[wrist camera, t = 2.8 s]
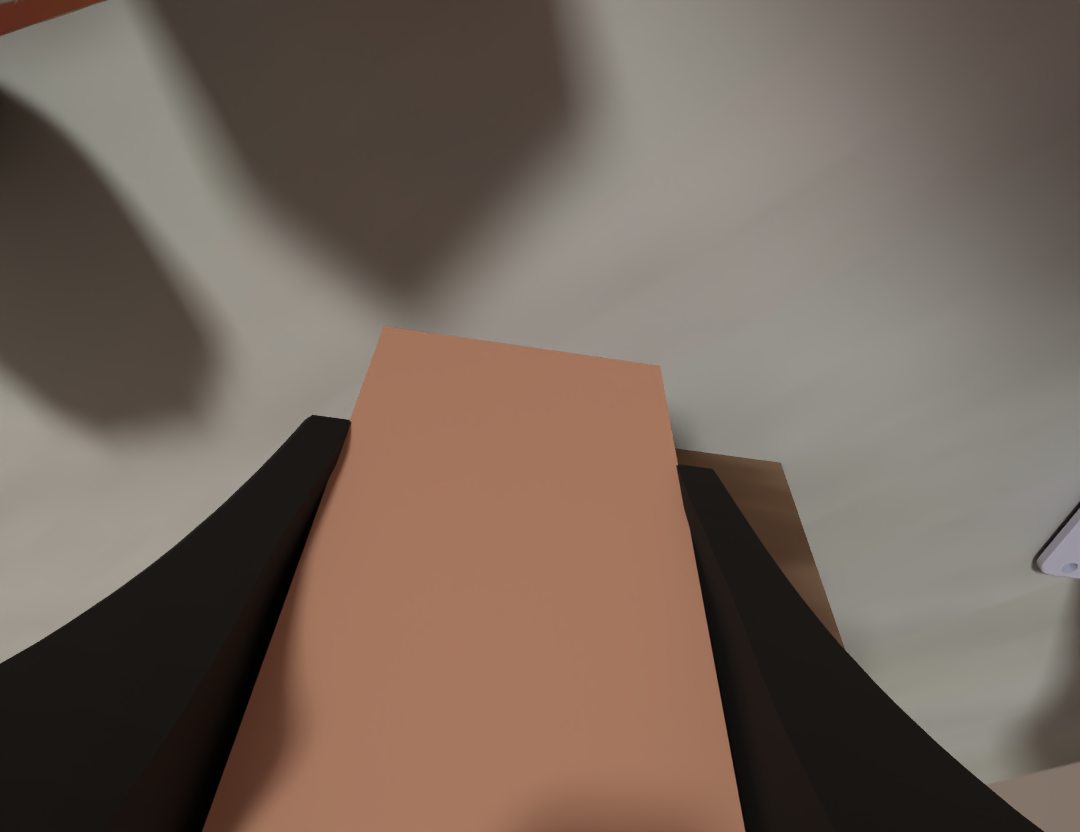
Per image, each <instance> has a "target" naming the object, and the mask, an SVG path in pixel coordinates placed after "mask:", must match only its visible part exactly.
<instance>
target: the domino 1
mask: <svg viewBox="0 0 1080 832" xmlns="http://www.w3.org/2000/svg"><path fill="white" fill-rule="evenodd" d="M350 422H351V425H350V427H349V430H348V433H347V436H346V439H345V441H344V444H343V447H342V450H341V453H340V455H339V458H338V461H337V464H336V466H335V468H334V470H333V472H332V474H331V476H330V478H329V480H328V483H327V485H326V488H325V491H324V494H323V497H322V499H321V502H320V505H319V508H318V510H317V513H316V516H315V519H314V522H313V524H312V527H311V530H310V533H309V535H308V538H307V541H306V544H305V547H304V549H303V552H302V555H301V558H300V560H299V563H298V566H297V569H296V572H295V574H294V577H293V580H292V583H291V586H290V588H289V591H288V594H287V597H286V599H285V602H284V605H283V608H282V611H281V613H280V616H279V619H278V622H277V624H276V627H275V630H274V633H273V636H272V638H271V641H270V644H269V647H268V650H267V652H266V655H265V658H264V661H263V663H262V666H261V669H260V672H259V675H258V677H257V680H256V683H255V686H254V688H253V691H252V694H251V697H250V700H249V702H248V705H247V708H246V711H245V713H244V716H243V719H242V722H241V725H240V727H239V730H238V733H237V736H236V739H235V741H234V744H233V747H232V750H231V752H230V755H229V758H228V761H227V764H226V766H225V769H224V772H223V775H222V777H221V780H220V783H219V786H218V789H217V791H216V794H215V797H214V800H213V802H212V805H211V808H210V811H209V814H208V816H207V819H206V822H205V825H204V828H203V830H202V832H745V828H744V822H743V817H742V811H741V806H740V800H739V795H738V789H737V784H736V779H735V773H734V768H733V762H732V757H731V751H730V746H729V740H728V735H727V729H726V724H725V719H724V713H723V708H722V702H721V697H720V691H719V686H718V680H717V675H716V669H715V664H714V658H713V653H712V648H711V642H710V637H709V631H708V626H707V620H706V615H705V609H704V604H703V598H702V593H701V588H700V582H699V577H698V571H697V566H696V560H695V555H694V549H693V544H692V538H691V533H690V527H689V524H688V521H687V517H686V514H685V511H684V506H683V500H682V495H681V489H680V484H679V478H678V473H677V467H676V465H678V462H677V457H676V451H675V446H674V440H673V435H672V429H671V424H670V418H669V413H668V407H667V402H666V397H665V391H664V386H663V380H662V375H661V369H660V366H656V365H649V364H642V363H635V362H629V361H622V360H615V359H608V358H601V357H594V356H587V355H580V354H573V353H566V352H559V351H552V350H545V349H538V348H531V347H524V346H517V345H510V344H504V343H497V342H490V341H483V340H476V339H469V338H462V337H455V336H448V335H441V334H434V333H427V332H420V331H413V330H406V329H399V328H392V327H386V326H384V327H383V330H382V332H381V335H380V338H379V341H378V344H377V346H376V349H375V352H374V355H373V357H372V360H371V363H370V366H369V369H368V371H367V374H366V377H365V380H364V382H363V385H362V388H361V391H360V394H359V396H358V399H357V402H356V405H355V407H354V410H353V413H352V416H351V419H350Z"/></svg>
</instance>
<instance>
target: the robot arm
mask: <svg viewBox="0 0 1080 832" xmlns="http://www.w3.org/2000/svg"><path fill="white" fill-rule="evenodd" d="M350 425H351V422H350V420H346V419H339V418H331V417H324V416H316V415H312V416H310V417H309V418H307V419H306V420H304V422H303V423H302V424H301V425H300V426H299V427H298V428H297V429H296V431H295V432H294V433H293V434H292V435H291V436H290V437H289V438H288V439H287V441H286V442H285V443H284V444H283V445H282V446H281V447H280V448H279V449H278V450H277V451H276V452H275V453H274V454H273V455H272V456H271V458H270V459H269V460H268V461H267V462H266V463H265V464H264V465H263V466H262V467H261V468H260V469H259V470H258V471H257V472H256V473H255V474H254V475H253V476H252V477H251V478H250V479H249V480H248V481H247V482H246V483H244V484H243V485H242V486H241V487H240V488H239V489H238V490H237V491H236V492H235V493H234V494H233V495H232V496H231V497H230V498H229V499H228V500H227V501H226V502H225V503H224V504H223V505H221V506H220V507H219V508H218V509H217V510H216V511H215V512H214V513H213V514H211V515H210V516H209V517H208V518H207V519H206V520H204V521H203V522H202V523H201V524H200V525H199V526H197V527H196V528H195V529H194V530H193V531H192V532H191V533H189V534H188V535H187V536H186V537H185V538H184V539H182V540H181V541H180V542H179V543H178V544H177V545H175V546H174V547H173V548H172V549H170V550H169V551H168V552H167V553H165V554H164V555H163V556H162V557H160V558H159V559H158V560H157V561H155V562H154V563H153V564H151V565H150V566H149V567H148V568H146V569H145V570H144V571H142V572H141V573H140V574H138V575H137V576H135V577H134V578H133V579H131V580H130V581H129V582H127V583H126V584H125V585H123V586H122V587H120V588H119V589H118V590H116V591H115V592H113V593H112V594H111V595H109V596H108V597H106V598H105V599H103V600H102V601H100V602H99V603H97V604H96V605H94V606H93V607H91V608H90V609H88V610H87V611H85V612H84V613H82V614H81V615H79V616H78V617H76V618H75V619H73V620H72V621H70V622H69V623H67V624H66V625H64V626H63V627H61V628H60V629H58V630H56V631H55V632H53V633H52V634H50V635H48V636H47V637H45V638H44V639H42V640H40V641H39V642H37V643H35V644H34V645H32V646H30V647H29V648H27V649H25V650H23V651H22V652H20V653H18V654H16V655H15V656H13V657H11V658H9V659H8V660H6V661H4V662H2V663H1V664H0V832H202V830H203V828H204V825H205V822H206V819H207V816H208V814H209V811H210V808H211V805H212V802H213V800H214V797H215V794H216V791H217V789H218V786H219V783H220V780H221V777H222V775H223V772H224V769H225V766H226V764H227V761H228V758H229V755H230V752H231V750H232V747H233V744H234V741H235V739H236V736H237V733H238V730H239V727H240V725H241V722H242V719H243V716H244V713H245V711H246V708H247V705H248V702H249V700H250V697H251V694H252V691H253V688H254V686H255V683H256V680H257V677H258V675H259V672H260V669H261V666H262V663H263V661H264V658H265V655H266V652H267V650H268V647H269V644H270V641H271V638H272V636H273V633H274V630H275V627H276V624H277V622H278V619H279V616H280V613H281V611H282V608H283V605H284V602H285V599H286V597H287V594H288V591H289V588H290V586H291V583H292V580H293V577H294V574H295V572H296V569H297V566H298V563H299V560H300V558H301V555H302V552H303V549H304V547H305V544H306V541H307V538H308V535H309V533H310V530H311V527H312V524H313V522H314V519H315V516H316V513H317V510H318V508H319V505H320V502H321V499H322V497H323V494H324V491H325V488H326V485H327V483H328V480H329V478H330V476H331V474H332V472H333V470H334V468H335V466H336V464H337V461H338V458H339V455H340V453H341V450H342V447H343V444H344V441H345V439H346V436H347V433H348V430H349V427H350ZM676 467H677V473H678V478H679V484H680V489H681V495H682V500H683V506H684V511H685V514H686V517H687V521H688V524H689V527H690V533H691V538H692V544H693V549H694V555H695V560H696V566H697V571H698V577H699V582H700V588H701V593H702V598H703V604H704V609H705V615H706V620H707V626H708V631H709V637H710V642H711V648H712V653H713V658H714V664H715V669H716V675H717V680H718V686H719V691H720V697H721V702H722V708H723V713H724V719H725V724H726V729H727V735H728V740H729V746H730V751H731V757H732V762H733V768H734V773H735V779H736V784H737V789H738V795H739V800H740V806H741V811H742V817H743V822H744V828H745V832H1044V831H1042V830H1041V829H1040V828H1038V827H1037V826H1036V825H1035V824H1033V823H1032V822H1031V821H1029V820H1028V819H1027V818H1025V817H1024V816H1023V815H1021V814H1020V813H1019V812H1018V811H1016V810H1015V809H1014V808H1013V807H1011V806H1010V805H1009V804H1008V803H1007V802H1005V801H1004V800H1003V799H1002V798H1001V797H999V796H998V795H997V794H996V793H995V792H993V791H992V790H991V789H990V788H989V787H987V786H986V785H985V784H984V783H983V782H981V781H980V780H979V779H978V778H977V777H975V776H974V775H973V774H972V773H971V772H969V771H968V770H967V769H966V768H965V767H964V766H963V765H961V764H960V763H959V762H958V761H957V760H956V759H955V758H953V757H952V756H951V755H950V754H949V753H948V752H947V751H946V750H944V749H943V748H942V747H941V746H940V745H939V744H938V743H937V742H936V741H934V740H933V739H932V738H931V737H930V736H929V735H928V734H927V733H926V732H925V731H924V730H923V729H922V728H921V727H920V726H919V725H918V724H917V723H916V722H914V721H913V720H912V719H911V718H910V717H909V716H908V715H907V714H906V713H905V712H904V711H903V710H902V709H901V708H900V707H899V706H898V705H897V704H896V703H895V702H894V701H893V700H892V699H891V698H890V697H889V696H888V695H887V694H886V693H885V692H884V691H883V690H882V689H881V688H880V687H879V686H878V685H877V684H876V683H875V682H874V681H873V680H872V679H871V678H870V677H869V676H868V674H867V673H866V672H865V671H864V670H863V669H862V668H861V667H860V666H859V665H858V664H857V662H856V661H855V660H854V659H853V658H852V657H851V656H850V655H849V654H848V653H847V652H846V651H845V649H844V648H843V647H842V646H841V645H840V644H839V643H838V641H837V640H836V639H835V638H834V637H833V636H832V634H831V633H830V632H829V631H828V630H827V629H826V627H825V626H824V625H823V624H822V622H821V621H820V620H819V619H818V617H817V616H816V615H815V614H814V612H813V611H812V610H811V609H810V607H809V606H808V605H807V604H806V602H805V601H804V600H803V599H802V597H801V596H800V595H799V594H798V592H797V591H796V590H795V588H794V587H793V586H792V584H791V583H790V582H789V580H788V579H787V577H786V576H785V575H784V573H783V572H782V570H781V569H780V568H779V566H778V565H777V563H776V562H775V561H774V559H773V558H772V556H771V555H770V554H769V552H768V551H767V549H766V548H765V546H764V545H763V543H762V542H761V541H760V539H759V538H758V536H757V535H756V533H755V532H754V530H753V529H752V527H751V526H750V524H749V523H748V521H747V520H746V518H745V517H744V515H743V514H742V512H741V511H740V509H739V507H738V506H737V504H736V503H735V501H734V500H733V498H732V497H731V495H730V494H729V492H728V491H727V489H726V488H725V486H724V484H723V483H722V481H721V480H720V478H719V477H718V476H717V474H716V473H715V471H714V470H713V469H711V468H703V467H696V466H688V465H681V464H678V465H676ZM1037 565H1038V566H1039V568H1040V569H1041V571H1042V572H1043V573H1045V574H1048V575H1056V576H1064V577H1072V578H1080V508H1079V509H1078V511H1077V512H1076V513H1075V514H1074V515H1073V517H1072V518H1071V519H1070V520H1069V521H1068V523H1067V524H1066V525H1065V526H1064V527H1063V529H1062V530H1061V531H1060V532H1059V533H1058V535H1057V536H1056V537H1055V538H1054V540H1053V541H1052V542H1051V543H1050V544H1049V546H1048V547H1047V548H1046V549H1045V550H1044V552H1043V553H1042V554H1041V555H1040V556H1039V558H1038V560H1037Z"/></svg>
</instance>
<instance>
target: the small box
mask: <svg viewBox="0 0 1080 832" xmlns="http://www.w3.org/2000/svg"><path fill="white" fill-rule="evenodd" d="M103 1H106V0H0V36H2V35H5V34H8V33H11V32H14V31H16V30H19V29H22V28H25V27H28V26H30V25H33V24H37V23H40V22H43V21H47V20H50V19H53V18H56V17H59V16H62V15H65V14H68V13H71V12H74V11H77V10H80V9H82V8H85V7H88V6H90V5H93V4H97V3H100V2H103Z"/></svg>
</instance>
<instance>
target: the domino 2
mask: <svg viewBox="0 0 1080 832" xmlns="http://www.w3.org/2000/svg"><path fill="white" fill-rule="evenodd" d="M675 451H676V457H677V462H678V464H681V465H688V466H696V467H703V468H711V469H713V470H714V471H715V473H716V474H717V476H718V477H719V478H720V480H721V481H722V483H723V484H724V486H725V488H726V489H727V491H728V492H729V494H730V495H731V497H732V498H733V500H734V501H735V503H736V504H737V506H738V507H739V509H740V511H741V512H742V514H743V515H744V517H745V518H746V520H747V521H748V523H749V524H750V526H751V527H752V529H753V530H754V532H755V533H756V535H757V536H758V538H759V539H760V541H761V542H762V543H763V545H764V546H765V548H766V549H767V551H768V552H769V554H770V555H771V556H772V558H773V559H774V561H775V562H776V563H777V565H778V566H779V568H780V569H781V570H782V572H783V573H784V575H785V576H786V577H787V579H788V580H789V582H790V583H791V584H792V586H793V587H794V588H795V590H796V591H797V592H798V594H799V595H800V596H801V597H802V599H803V600H804V601H805V602H806V604H807V605H808V606H809V607H810V609H811V610H812V611H813V612H814V614H815V615H816V616H817V617H818V619H819V620H820V621H821V622H822V624H823V625H824V626H825V627H826V629H827V630H828V631H829V632H830V633H831V634H832V636H833V637H834V638H835V639H836V640H837V641H838V643H839V644H840V645H841V646H842V647H843V648H844V646H843V643H842V640H841V637H840V634H839V631H838V628H837V625H836V622H835V619H834V617H833V614H832V611H831V608H830V605H829V602H828V599H827V596H826V593H825V590H824V587H823V585H822V582H821V579H820V576H819V573H818V570H817V567H816V564H815V561H814V558H813V556H812V553H811V550H810V547H809V544H808V541H807V538H806V535H805V532H804V529H803V526H802V524H801V521H800V518H799V515H798V512H797V509H796V506H795V503H794V500H793V497H792V495H791V492H790V489H789V486H788V483H787V480H786V477H785V474H784V471H783V468H782V465H781V463H777V462H770V461H762V460H755V459H748V458H740V457H733V456H725V455H718V454H711V453H703V452H696V451H688V450H681V449H675ZM844 649H845V648H844Z"/></svg>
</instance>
